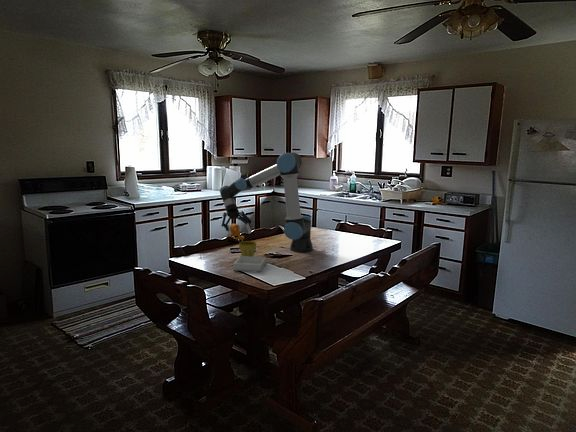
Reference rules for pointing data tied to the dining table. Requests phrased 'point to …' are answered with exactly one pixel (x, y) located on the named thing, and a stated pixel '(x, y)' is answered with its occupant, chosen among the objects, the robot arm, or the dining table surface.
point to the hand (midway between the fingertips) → (240, 233)
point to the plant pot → (247, 248)
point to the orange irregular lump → (235, 232)
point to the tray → (249, 263)
